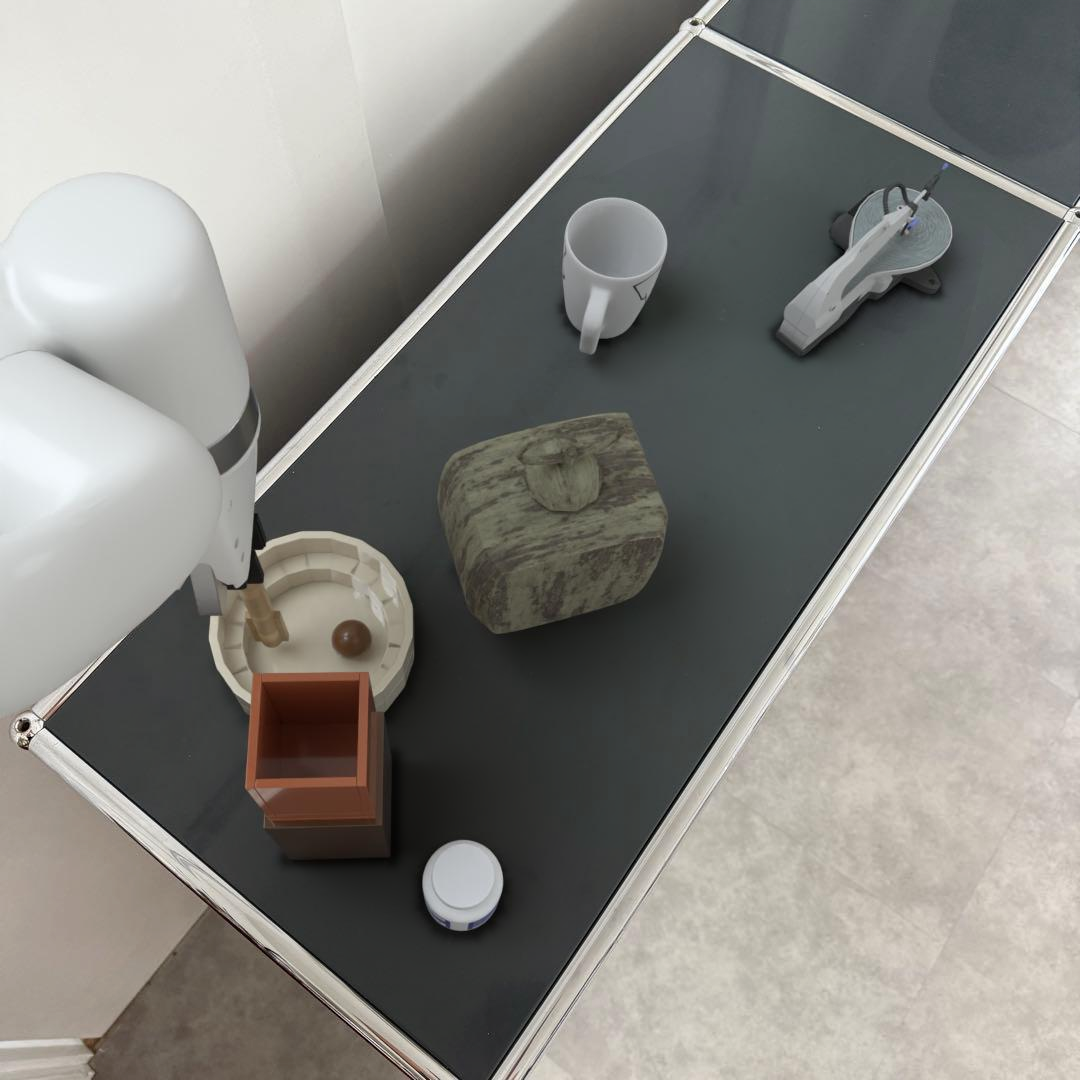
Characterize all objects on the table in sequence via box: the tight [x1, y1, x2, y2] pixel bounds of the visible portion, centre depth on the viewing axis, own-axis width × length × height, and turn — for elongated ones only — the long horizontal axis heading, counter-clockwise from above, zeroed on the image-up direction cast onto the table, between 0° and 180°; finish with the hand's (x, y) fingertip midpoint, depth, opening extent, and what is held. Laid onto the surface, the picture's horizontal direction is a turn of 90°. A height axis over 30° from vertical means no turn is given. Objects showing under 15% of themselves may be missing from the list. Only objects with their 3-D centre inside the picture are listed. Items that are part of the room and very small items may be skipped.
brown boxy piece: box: [244, 672, 393, 861], centre depth 69 cm, size 7×7×23 cm
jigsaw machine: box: [775, 162, 953, 357], centre depth 97 cm, size 20×11×12 cm
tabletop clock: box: [436, 412, 669, 635], centre depth 76 cm, size 14×9×25 cm, turn 107°
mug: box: [561, 197, 668, 355], centre depth 93 cm, size 11×8×10 cm
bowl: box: [208, 530, 415, 717], centre depth 81 cm, size 14×14×6 cm
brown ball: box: [331, 619, 372, 660], centre depth 82 cm, size 3×3×3 cm
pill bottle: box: [421, 839, 504, 932], centre depth 73 cm, size 5×5×9 cm
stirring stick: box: [238, 583, 289, 648], centre depth 72 cm, size 2×2×20 cm
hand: (239, 561), depth 68 cm, fingers closed on stirring stick, 1 cm apart
